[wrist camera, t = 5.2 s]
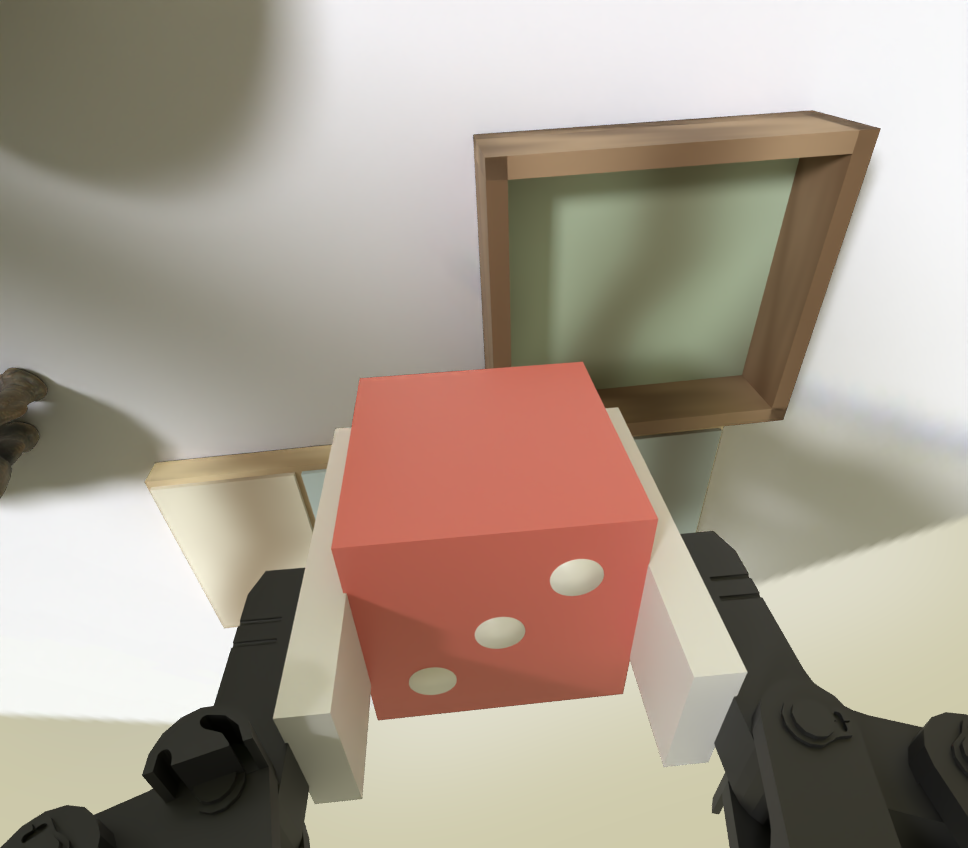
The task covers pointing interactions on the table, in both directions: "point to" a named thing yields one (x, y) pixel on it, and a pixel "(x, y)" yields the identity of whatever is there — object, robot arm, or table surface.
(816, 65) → the table surface
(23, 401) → the rhino figurine
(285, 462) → the board
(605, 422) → the die
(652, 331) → the dice tray
